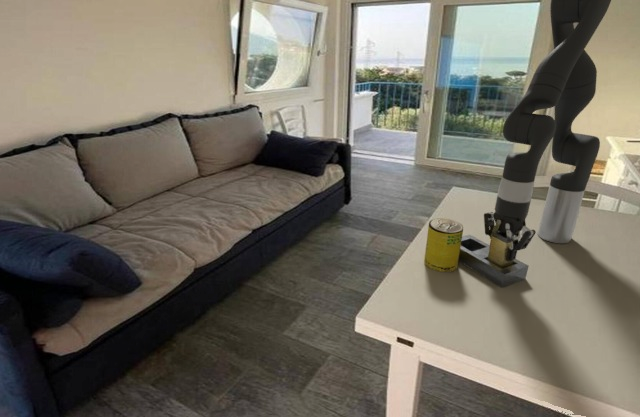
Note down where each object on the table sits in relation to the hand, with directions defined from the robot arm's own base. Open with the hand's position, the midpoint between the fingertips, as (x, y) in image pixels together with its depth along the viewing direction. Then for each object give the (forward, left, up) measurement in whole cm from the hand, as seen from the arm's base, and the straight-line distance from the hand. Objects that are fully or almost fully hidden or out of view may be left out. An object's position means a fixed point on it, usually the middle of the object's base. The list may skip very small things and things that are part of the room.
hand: (501, 255), depth 100 cm
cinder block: (0, -5, -5) cm, 7 cm away
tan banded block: (0, 0, -2) cm, 2 cm away
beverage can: (+10, -11, -6) cm, 16 cm away
